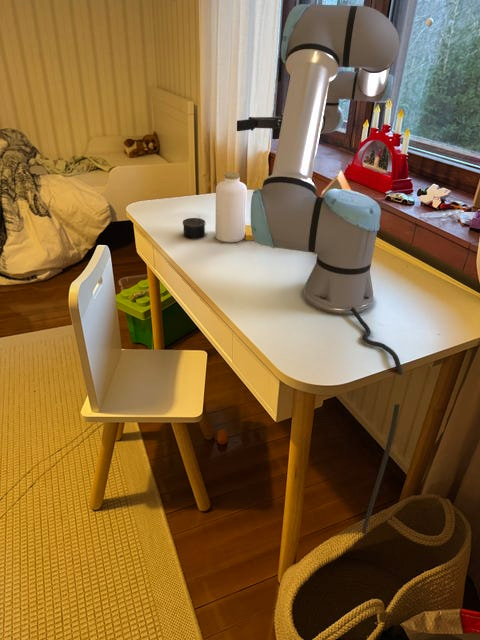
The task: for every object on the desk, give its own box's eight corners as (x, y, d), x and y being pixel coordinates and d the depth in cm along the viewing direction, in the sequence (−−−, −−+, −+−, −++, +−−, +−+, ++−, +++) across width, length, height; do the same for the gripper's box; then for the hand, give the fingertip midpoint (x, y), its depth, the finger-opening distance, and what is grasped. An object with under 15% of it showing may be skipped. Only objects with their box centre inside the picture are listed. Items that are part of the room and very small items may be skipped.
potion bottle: (235, 246, 130) (237, 180, 121) (209, 239, 134) (209, 174, 125) (249, 236, 137) (253, 173, 127) (225, 230, 140) (226, 168, 131)
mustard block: (266, 240, 135) (266, 235, 134) (245, 240, 134) (245, 235, 134) (263, 230, 142) (263, 225, 141) (243, 229, 141) (243, 225, 140)
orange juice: (312, 250, 130) (321, 176, 119) (317, 238, 137) (326, 167, 126) (340, 254, 128) (352, 179, 117) (344, 242, 135) (356, 171, 125)
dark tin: (205, 239, 134) (205, 225, 132) (182, 239, 133) (182, 225, 131) (205, 231, 139) (205, 217, 137) (183, 230, 139) (182, 217, 137)
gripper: (337, 143, 136) (288, 152, 123) (272, 129, 151) (223, 136, 138) (341, 115, 132) (291, 121, 120) (274, 103, 147) (224, 108, 134)
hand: (254, 129), depth 129 cm, fingers open, 13 cm apart
